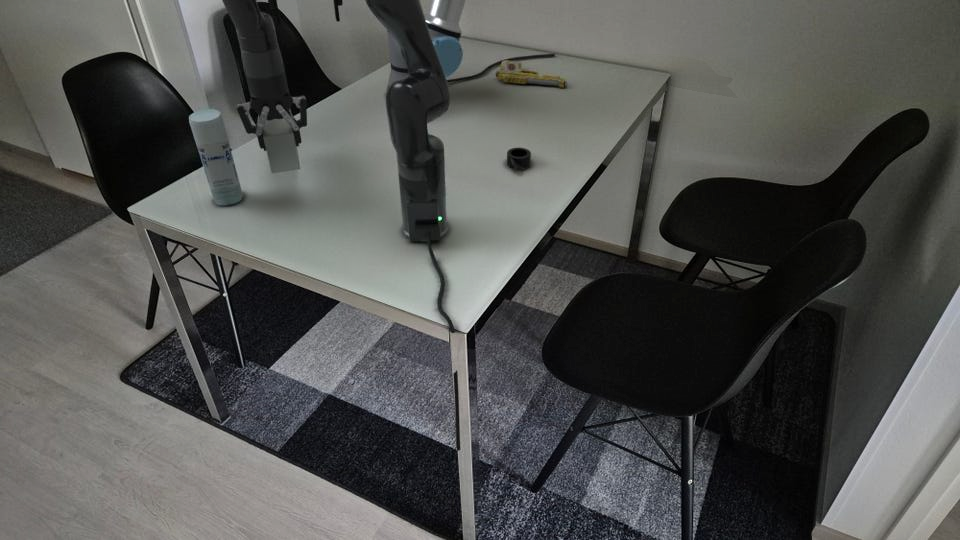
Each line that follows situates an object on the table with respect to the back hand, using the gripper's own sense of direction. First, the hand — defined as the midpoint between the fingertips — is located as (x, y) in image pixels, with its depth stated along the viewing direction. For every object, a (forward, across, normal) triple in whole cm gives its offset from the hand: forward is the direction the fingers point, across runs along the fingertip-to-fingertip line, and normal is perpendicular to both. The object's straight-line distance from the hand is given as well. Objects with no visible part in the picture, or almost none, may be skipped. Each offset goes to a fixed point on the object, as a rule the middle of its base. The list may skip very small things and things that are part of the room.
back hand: (308, 22), depth 148 cm
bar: (+21, +10, +19) cm, 30 cm away
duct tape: (+29, -44, +28) cm, 60 cm away
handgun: (+28, -67, -25) cm, 77 cm away
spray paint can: (+30, +24, +25) cm, 46 cm away
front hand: (+17, +10, +29) cm, 36 cm away
